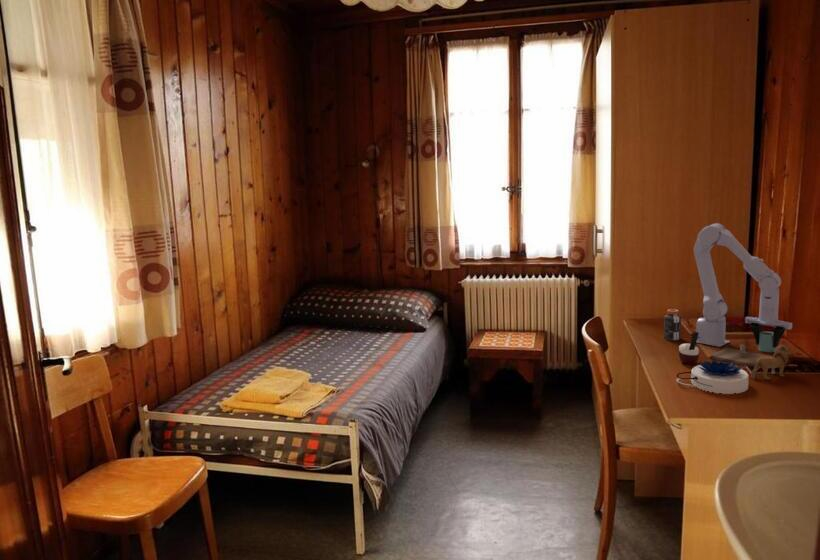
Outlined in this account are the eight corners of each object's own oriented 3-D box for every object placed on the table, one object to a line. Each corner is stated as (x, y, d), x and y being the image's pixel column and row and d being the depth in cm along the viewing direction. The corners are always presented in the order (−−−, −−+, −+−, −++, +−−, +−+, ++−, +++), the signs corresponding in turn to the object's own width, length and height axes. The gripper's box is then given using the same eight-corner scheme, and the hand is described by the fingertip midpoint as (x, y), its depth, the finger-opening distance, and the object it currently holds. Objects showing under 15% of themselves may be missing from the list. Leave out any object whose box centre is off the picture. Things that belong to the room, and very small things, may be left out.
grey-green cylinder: (756, 350, 215) (756, 333, 214) (762, 347, 218) (762, 330, 217) (771, 353, 212) (772, 336, 210) (777, 349, 215) (778, 333, 214)
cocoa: (679, 357, 212) (680, 324, 210) (699, 359, 209) (700, 325, 207) (677, 366, 204) (678, 331, 202) (698, 368, 201) (699, 332, 199)
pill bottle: (682, 340, 231) (683, 311, 229) (665, 340, 232) (666, 311, 230) (678, 336, 237) (679, 308, 235) (662, 336, 238) (663, 308, 236)
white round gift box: (739, 355, 191) (671, 355, 195) (756, 372, 176) (683, 372, 180) (738, 376, 192) (670, 376, 196) (755, 395, 177) (682, 394, 181)
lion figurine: (776, 369, 196) (777, 342, 194) (792, 373, 191) (794, 346, 190) (746, 378, 190) (747, 351, 188) (762, 383, 185) (764, 355, 183)
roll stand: (710, 358, 210) (710, 344, 209) (726, 350, 217) (726, 336, 216) (759, 368, 198) (760, 353, 197) (774, 359, 205) (775, 345, 204)
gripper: (742, 307, 215) (740, 344, 218) (787, 313, 204) (785, 352, 207) (750, 303, 220) (748, 339, 222) (795, 309, 209) (793, 347, 211)
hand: (766, 345), depth 215 cm, fingers closed on grey-green cylinder, 5 cm apart
